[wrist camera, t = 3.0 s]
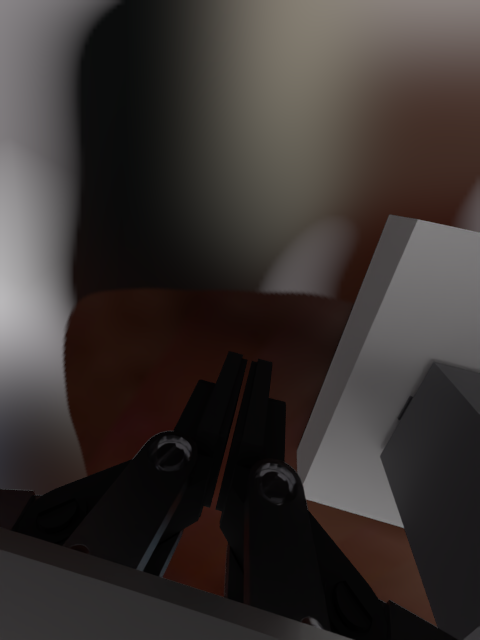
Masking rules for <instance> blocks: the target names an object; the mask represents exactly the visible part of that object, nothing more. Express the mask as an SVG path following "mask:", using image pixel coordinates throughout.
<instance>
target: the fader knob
mask: <svg viewBox="0 0 480 640" xmlns="http://www.w3.org/2000/svg"><path fill="white" fill-rule="evenodd" d="M380 458H381V461H382V464H383V467H384V470H385V473H386V476H387V479H388V482H389V485H390V488H391V491H392V494H393V496H394V499H395V502H396V505H397V508H398V511H399V514H400V517H401V520H402V523H403V526H404V529H405V532H406V535H407V538H408V541H409V544H410V547H411V550H412V553H413V556H414V559H415V562H416V565H417V567H418V570H419V573H420V576H421V579H422V582H423V585H424V588H425V591H426V594H427V597H428V600H429V603H430V606H431V609H432V612H433V615H434V618H435V621H436V624H437V627H438V628H439V629H441V630H443V631H444V632H446V633H448V634H449V635H451V636H453V637H455V638H456V639H458V640H480V373H478V372H474V371H470V370H466V369H462V368H458V367H454V366H450V365H446V364H442V363H438V362H433V363H432V365H431V367H430V369H429V370H428V372H427V374H426V376H425V377H424V379H423V381H422V383H421V384H420V386H419V388H418V390H417V391H416V393H415V395H414V397H413V399H412V400H411V402H410V404H409V406H408V407H407V409H406V411H405V413H404V414H403V416H402V418H401V420H400V421H399V423H398V425H397V427H396V428H395V430H394V432H393V434H392V436H391V437H390V439H389V441H388V443H387V444H386V446H385V448H384V450H383V451H382V453H381V455H380Z"/></svg>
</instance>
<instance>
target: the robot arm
mask: <svg viewBox="0 0 480 640" xmlns="http://www.w3.org/2000/svg"><path fill="white" fill-rule="evenodd" d="M242 357H243V355H242V354H238V353H234V352H230V351H229V353H228V355H227V358H226V360H225V362H224V365H223V367H222V370H221V372H220V375H219V377H218V380H217V382H216V384H215V383H211V382H208V381H204V380H199V381H198V383H197V385H196V387H195V389H194V391H193V393H192V395H191V397H190V399H189V401H188V403H187V405H186V407H185V409H184V411H183V413H182V415H181V417H180V419H179V421H178V423H177V425H176V427H175V429H174V431H165V432H161V433H159V434H157V435H155V436H153V437H152V438H151V439H149V440H148V441H147V442H146V444H145V445H144V446H143V447H142V448H141V450H140V451H139V452H138V453H137V455H136V456H135V457H134V458H133V459H132V460H129V461H127V462H124V463H121V464H119V465H116V466H113V467H111V468H108V469H106V470H103V471H100V472H98V473H95V474H93V475H90V476H87V477H85V478H82V479H80V480H77V481H75V482H72V483H69V484H67V485H64V486H61V487H59V488H56V489H54V490H52V491H50V492H48V493H46V494H44V495H35V493H34V491H33V490H32V491H31V490H11V489H0V640H458V639H456V638H455V637H453V636H451V635H449V634H448V633H446V632H444V631H443V630H441V629H439V628H437V627H436V626H434V625H432V624H430V623H429V622H427V621H425V620H424V619H422V618H420V617H418V616H417V615H415V614H413V613H411V612H410V611H408V610H406V609H404V608H403V607H401V606H399V605H398V604H396V603H394V602H392V601H391V600H389V601H388V602H387V603H385V602H383V601H381V600H380V599H378V598H377V596H376V595H375V593H374V592H373V590H372V589H371V587H370V586H369V584H368V583H367V582H366V581H365V579H364V578H363V577H362V576H361V575H360V573H359V572H358V571H357V570H356V568H355V567H354V566H353V565H352V563H351V562H350V561H349V560H348V559H347V557H346V556H345V555H344V554H343V552H342V551H341V550H340V549H339V547H338V546H337V545H336V544H335V543H334V541H333V540H332V539H331V538H330V536H329V535H328V534H327V533H326V531H325V530H324V529H323V528H322V527H321V525H320V524H319V523H318V522H317V520H316V519H315V518H314V517H313V516H312V514H311V513H310V512H309V511H308V508H307V503H306V498H305V493H304V487H303V484H302V481H301V478H300V477H299V475H298V474H297V472H296V471H295V470H294V469H293V468H292V467H291V466H290V465H288V464H287V463H285V462H284V457H285V418H286V403H285V402H283V401H279V400H275V399H271V398H269V389H270V380H271V371H272V362H269V361H265V360H261V359H258V362H253V361H252V363H251V367H250V371H249V375H248V379H247V383H246V387H245V391H244V395H243V399H242V403H241V407H240V411H239V415H238V419H237V423H236V427H235V431H234V435H233V439H232V444H231V448H230V452H229V456H228V460H227V464H226V468H225V472H224V477H223V481H222V485H221V489H220V493H219V497H218V501H217V505H216V510H219V511H222V515H221V519H220V529H221V530H222V532H223V534H224V536H225V538H226V539H227V541H228V545H227V553H226V573H225V592H224V597H221V596H218V595H215V594H212V593H208V592H205V591H202V590H199V589H196V588H193V587H190V586H187V585H183V584H180V583H177V582H174V581H171V580H168V579H165V578H162V576H163V574H164V572H165V570H166V568H167V566H168V564H169V562H170V560H171V558H172V555H173V553H174V551H175V549H176V547H177V545H178V543H179V541H180V539H181V537H182V534H183V531H184V528H186V527H188V526H189V525H191V524H193V523H195V522H196V521H198V519H199V517H200V516H201V512H202V509H203V506H206V507H209V508H210V506H211V502H212V498H213V494H214V490H215V487H216V483H217V479H218V475H219V471H220V468H221V464H222V460H223V456H224V452H225V448H226V445H227V441H228V437H229V433H230V429H231V425H232V422H233V418H234V414H235V410H236V405H237V401H238V397H239V393H240V389H241V385H242V381H243V377H244V372H245V368H246V364H247V360H246V359H242Z"/></svg>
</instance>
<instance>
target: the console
mask: <svg viewBox="0 0 480 640" xmlns="http://www.w3.org/2000/svg"><path fill="white" fill-rule="evenodd" d="M433 362H438V363H442V364H446V365H450V366H454V367H458V368H462V369H466V370H470V371H474V372H478V373H480V233H479V232H475V231H470V230H466V229H461V228H456V227H451V226H446V225H442V224H437V223H433V222H428V221H423V220H419V219H413V218H406V217H401V216H395V215H389V216H388V219H387V221H386V224H385V227H384V229H383V232H382V234H381V237H380V239H379V242H378V245H377V247H376V250H375V252H374V255H373V257H372V260H371V262H370V265H369V268H368V270H367V273H366V275H365V278H364V280H363V283H362V285H361V288H360V291H359V293H358V296H357V298H356V301H355V303H354V306H353V309H352V311H351V314H350V316H349V319H348V321H347V324H346V326H345V329H344V332H343V334H342V337H341V339H340V342H339V344H338V347H337V350H336V352H335V355H334V357H333V360H332V362H331V365H330V367H329V370H328V373H327V375H326V378H325V380H324V383H323V385H322V388H321V391H320V393H319V396H318V398H317V401H316V403H315V406H314V408H313V411H312V414H311V416H310V419H309V421H308V424H307V426H306V429H305V432H304V434H303V437H302V439H301V442H300V444H299V447H298V449H297V474H298V475H299V477H300V478H301V481H302V484H303V487H304V493H305V498H306V499H307V500H310V501H314V502H317V503H321V504H324V505H328V506H331V507H334V508H338V509H341V510H345V511H348V512H351V513H355V514H358V515H362V516H365V517H368V518H372V519H375V520H379V521H382V522H385V523H389V524H392V525H396V526H399V527H402V528H404V526H403V523H402V520H401V517H400V514H399V511H398V508H397V505H396V502H395V499H394V496H393V494H392V491H391V488H390V485H389V482H388V479H387V476H386V473H385V470H384V467H383V464H382V461H381V458H380V455H381V453H382V451H383V450H384V448H385V446H386V444H387V443H388V441H389V439H390V437H391V436H392V434H393V432H394V430H395V428H396V427H397V425H398V423H399V421H400V420H401V418H402V416H403V414H404V413H405V411H406V409H407V407H408V406H409V404H410V402H411V400H412V399H413V397H414V395H415V393H416V391H417V390H418V388H419V386H420V384H421V383H422V381H423V379H424V377H425V376H426V374H427V372H428V370H429V369H430V367H431V365H432V363H433Z"/></svg>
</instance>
